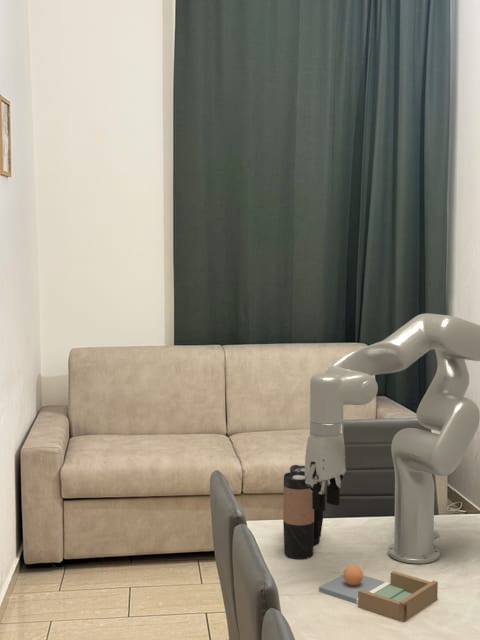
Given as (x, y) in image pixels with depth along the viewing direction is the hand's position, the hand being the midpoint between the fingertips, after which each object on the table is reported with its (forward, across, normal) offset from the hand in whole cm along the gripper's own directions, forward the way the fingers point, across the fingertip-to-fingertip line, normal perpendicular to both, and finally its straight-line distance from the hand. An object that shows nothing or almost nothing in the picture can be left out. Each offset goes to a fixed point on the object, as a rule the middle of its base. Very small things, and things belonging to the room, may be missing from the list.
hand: (326, 506), depth 194 cm
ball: (+14, 0, +8) cm, 16 cm away
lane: (+17, 0, +14) cm, 22 cm away
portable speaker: (+18, -17, -18) cm, 31 cm away
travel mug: (+18, -9, -14) cm, 25 cm away
